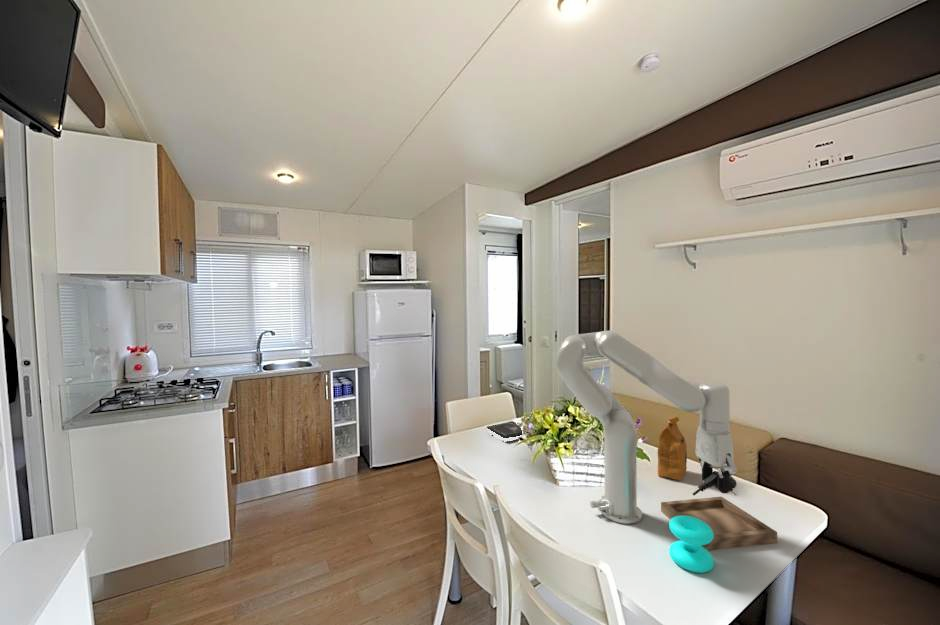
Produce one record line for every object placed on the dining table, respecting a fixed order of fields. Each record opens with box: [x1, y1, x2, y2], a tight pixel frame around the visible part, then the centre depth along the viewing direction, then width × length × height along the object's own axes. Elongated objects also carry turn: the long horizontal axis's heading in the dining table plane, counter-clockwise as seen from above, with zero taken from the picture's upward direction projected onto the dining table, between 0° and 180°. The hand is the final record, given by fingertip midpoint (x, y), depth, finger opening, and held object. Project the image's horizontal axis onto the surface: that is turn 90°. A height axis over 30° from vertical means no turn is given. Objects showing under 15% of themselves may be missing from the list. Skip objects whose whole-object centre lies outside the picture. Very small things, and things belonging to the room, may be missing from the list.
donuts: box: [668, 515, 715, 574], centre depth 98 cm, size 10×10×10 cm
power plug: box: [692, 470, 738, 496], centre depth 114 cm, size 6×8×12 cm
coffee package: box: [657, 415, 688, 481], centre depth 147 cm, size 10×12×22 cm
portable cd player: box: [486, 421, 522, 438], centre depth 195 cm, size 16×17×4 cm
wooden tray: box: [660, 496, 778, 552], centre depth 114 cm, size 22×20×3 cm
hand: (715, 484), depth 113 cm, fingers closed on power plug, 5 cm apart
